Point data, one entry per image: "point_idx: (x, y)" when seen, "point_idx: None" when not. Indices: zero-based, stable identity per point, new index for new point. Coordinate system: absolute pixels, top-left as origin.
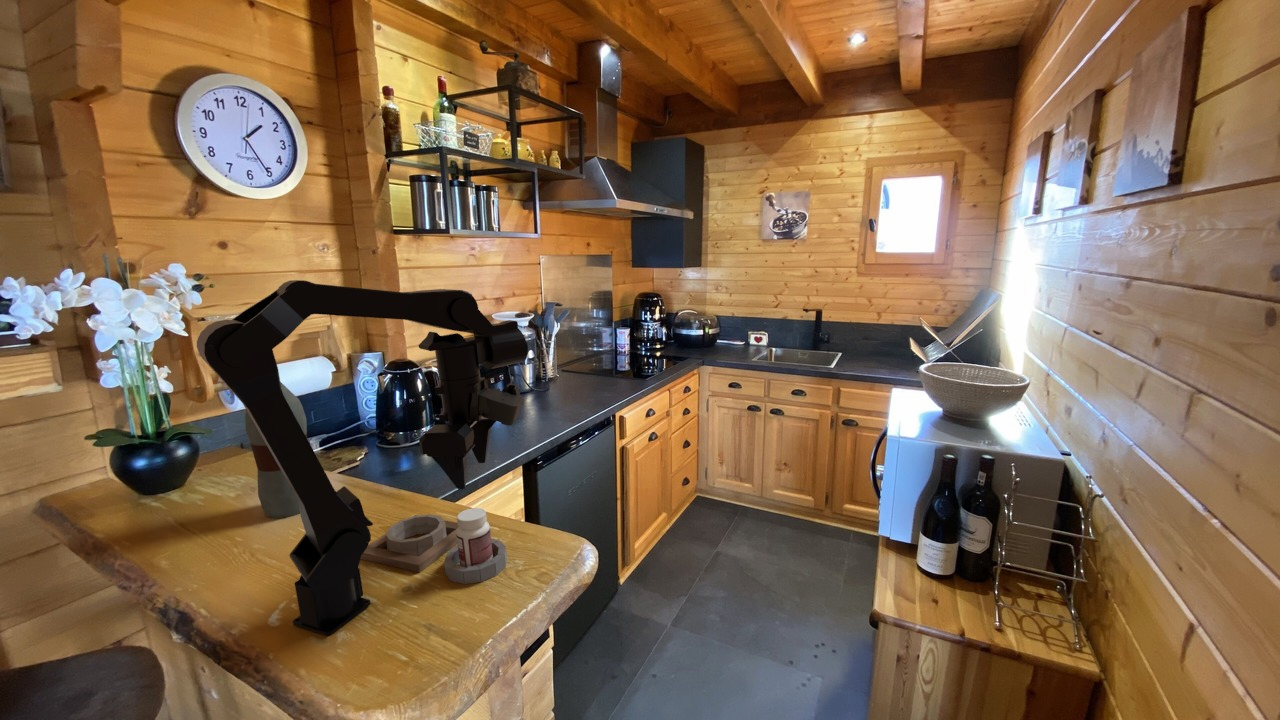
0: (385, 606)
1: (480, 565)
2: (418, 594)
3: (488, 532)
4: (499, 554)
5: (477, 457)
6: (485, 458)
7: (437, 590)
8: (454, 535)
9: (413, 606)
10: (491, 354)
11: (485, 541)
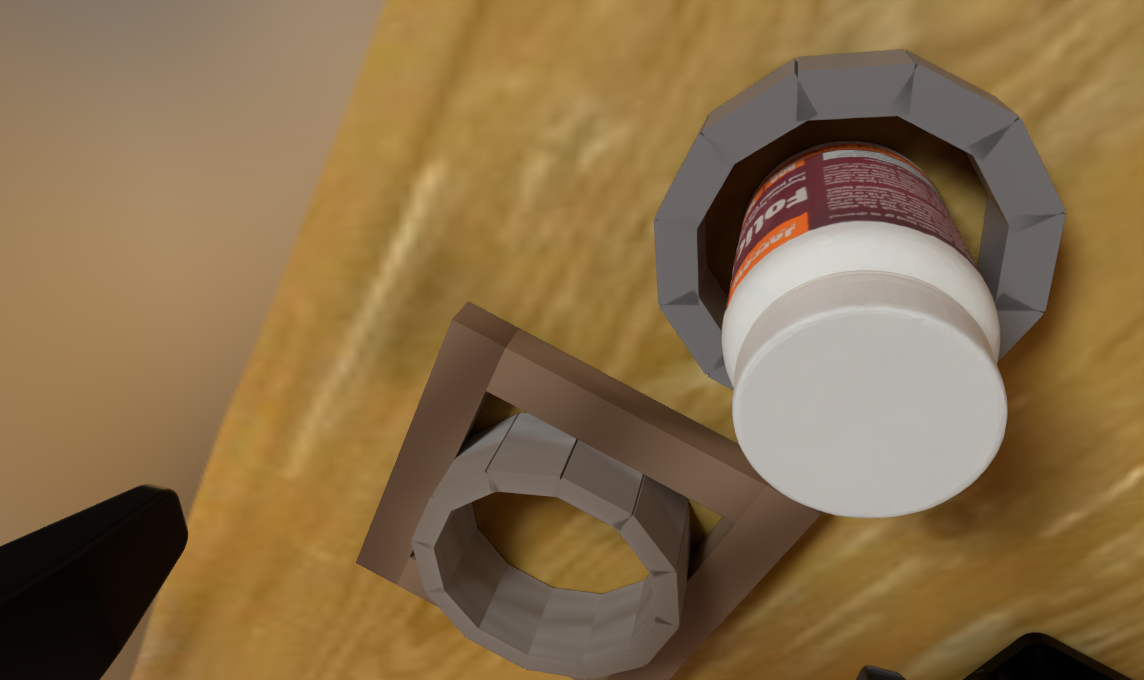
0: (1071, 580)
1: (1015, 214)
2: (1025, 473)
3: (906, 222)
4: (906, 101)
5: (140, 598)
6: (126, 513)
7: (1025, 398)
8: (552, 393)
9: (1133, 482)
10: None
11: (941, 226)
